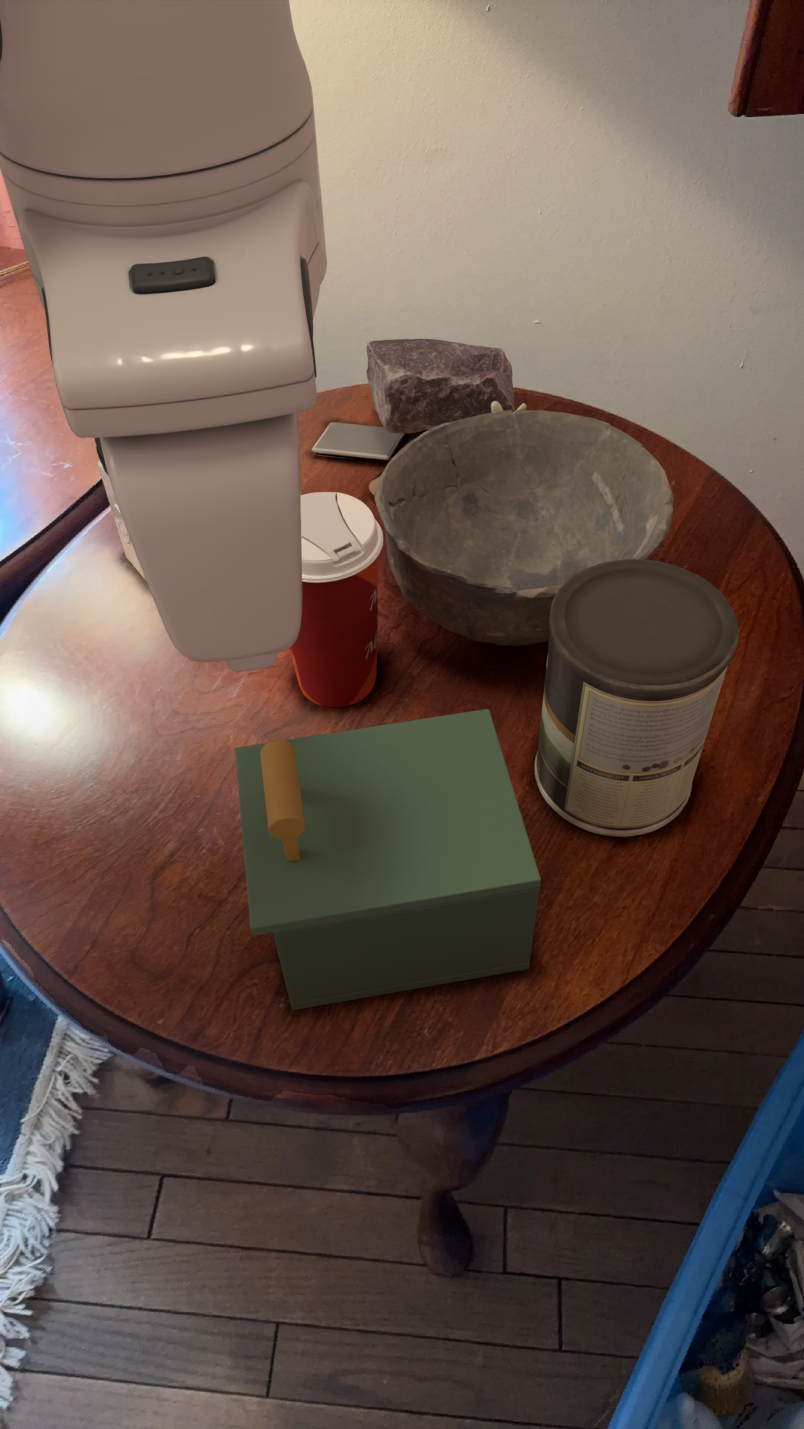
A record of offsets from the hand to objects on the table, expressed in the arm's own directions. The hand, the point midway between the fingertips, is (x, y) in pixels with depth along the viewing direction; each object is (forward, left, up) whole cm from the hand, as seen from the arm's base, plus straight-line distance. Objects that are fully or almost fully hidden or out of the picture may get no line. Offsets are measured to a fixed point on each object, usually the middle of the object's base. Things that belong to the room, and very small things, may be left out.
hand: (243, 572), depth 41 cm
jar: (+9, +34, -27) cm, 45 cm away
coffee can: (+22, -3, -27) cm, 35 cm away
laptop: (+29, +38, -25) cm, 54 cm away
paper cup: (+12, +15, -27) cm, 33 cm away
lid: (+4, -2, -18) cm, 19 cm away
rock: (+37, +37, -29) cm, 59 cm away
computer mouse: (+30, +32, -27) cm, 51 cm away
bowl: (+27, +14, -27) cm, 41 cm away
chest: (+5, -2, -27) cm, 28 cm away
